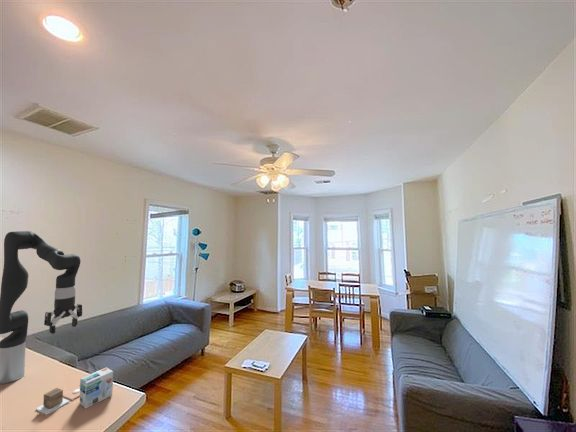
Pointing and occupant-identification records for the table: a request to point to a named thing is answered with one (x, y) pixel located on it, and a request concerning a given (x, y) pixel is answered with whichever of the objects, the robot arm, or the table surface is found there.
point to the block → (53, 398)
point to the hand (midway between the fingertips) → (63, 329)
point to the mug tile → (72, 393)
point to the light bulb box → (96, 387)
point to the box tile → (47, 410)
